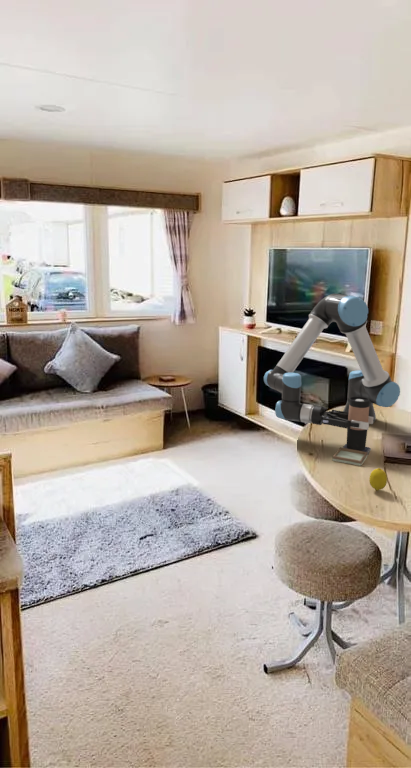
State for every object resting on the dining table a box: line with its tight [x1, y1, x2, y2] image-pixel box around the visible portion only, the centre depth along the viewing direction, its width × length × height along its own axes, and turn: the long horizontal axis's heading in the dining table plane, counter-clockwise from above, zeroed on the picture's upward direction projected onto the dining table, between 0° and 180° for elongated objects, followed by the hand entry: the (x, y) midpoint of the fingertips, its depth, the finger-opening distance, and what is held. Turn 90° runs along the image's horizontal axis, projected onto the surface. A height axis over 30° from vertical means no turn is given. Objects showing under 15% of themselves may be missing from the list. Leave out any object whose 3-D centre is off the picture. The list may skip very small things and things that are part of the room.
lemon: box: [368, 467, 388, 492], centre depth 183 cm, size 6×6×8 cm
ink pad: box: [342, 443, 372, 456], centre depth 220 cm, size 8×10×1 cm
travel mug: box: [346, 397, 370, 451], centre depth 217 cm, size 8×8×20 cm
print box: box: [332, 446, 369, 467], centre depth 212 cm, size 11×11×2 cm
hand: (370, 423), depth 215 cm, fingers closed on travel mug, 7 cm apart
